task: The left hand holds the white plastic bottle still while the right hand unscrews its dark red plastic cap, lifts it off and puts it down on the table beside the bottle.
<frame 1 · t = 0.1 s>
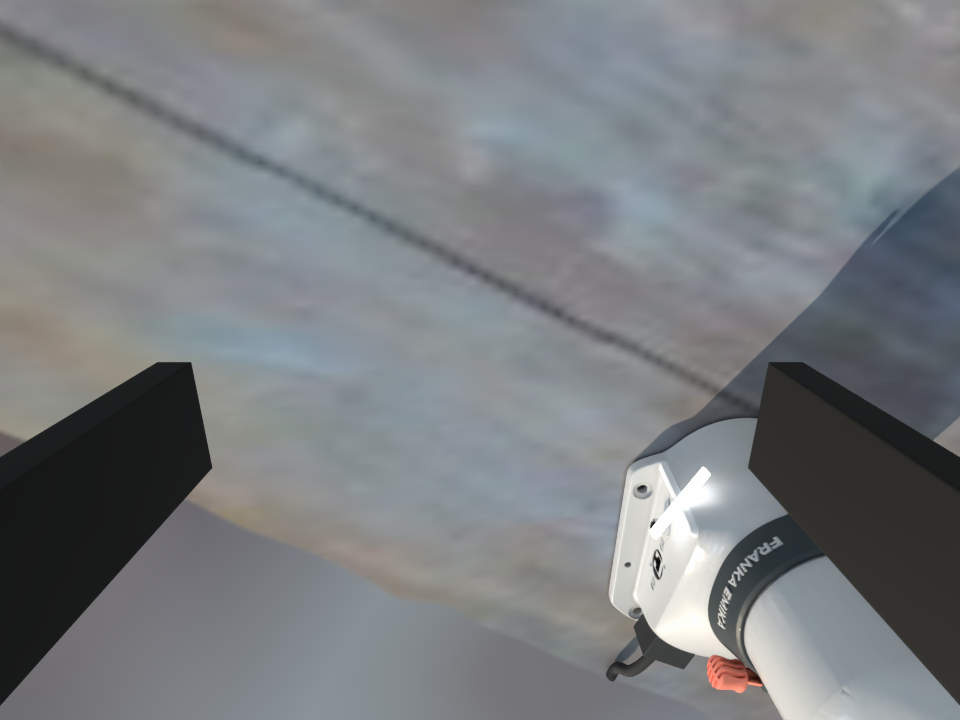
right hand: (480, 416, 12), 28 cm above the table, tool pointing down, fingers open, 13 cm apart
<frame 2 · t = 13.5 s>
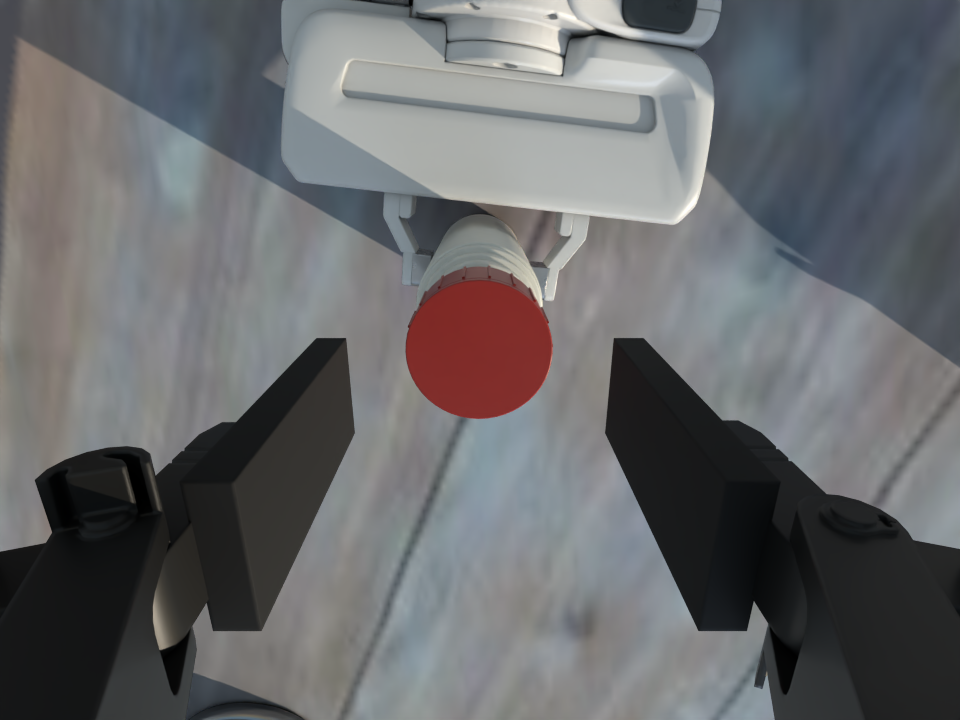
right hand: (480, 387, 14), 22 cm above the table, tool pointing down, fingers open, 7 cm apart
left hand: (478, 291, 29), fingers closed on bottle, 5 cm apart
cap: (479, 349, 17), point 19 cm above the table, screwed on, not yet turned
bottle: (479, 255, 34), on the table, touching left hand
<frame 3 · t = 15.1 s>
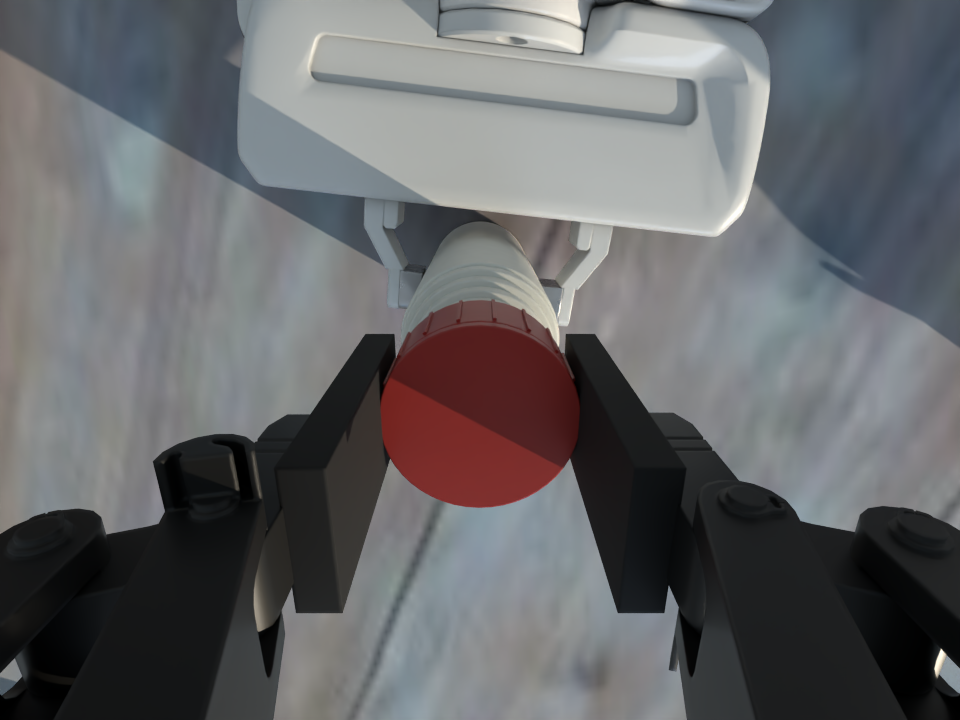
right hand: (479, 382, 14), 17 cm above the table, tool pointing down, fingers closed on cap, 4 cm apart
left hand: (478, 314, 24), fingers closed on bottle, 5 cm apart
cap: (479, 417, 12), point 19 cm above the table, screwed on, not yet turned, touching right hand
bottle: (480, 268, 30), on the table, touching left hand
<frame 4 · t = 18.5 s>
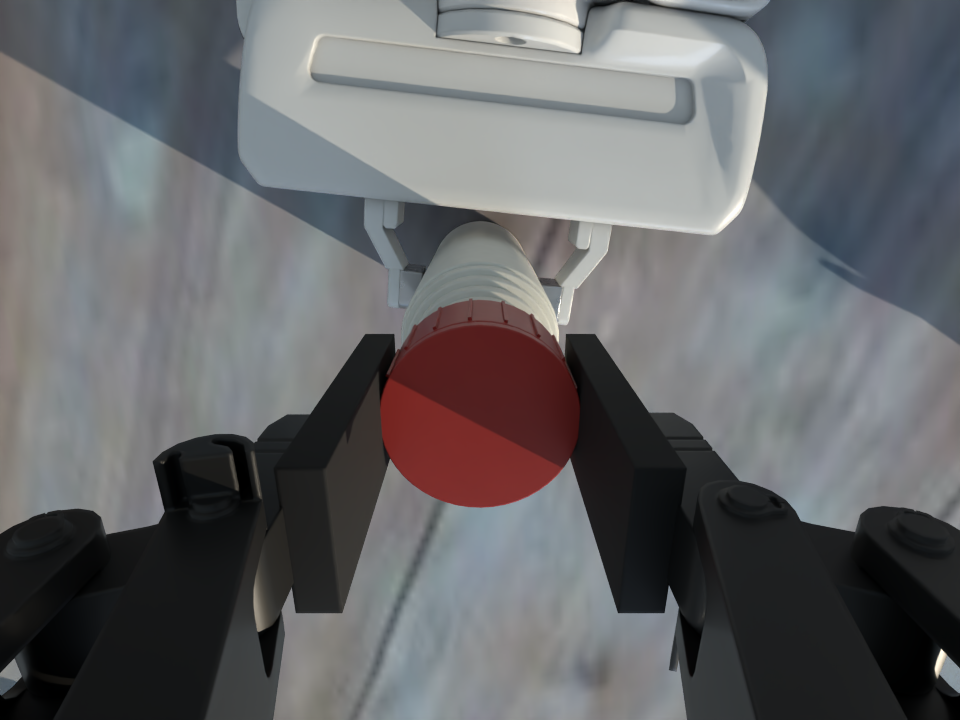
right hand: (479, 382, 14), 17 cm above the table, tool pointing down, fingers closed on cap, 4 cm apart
left hand: (478, 313, 24), fingers closed on bottle, 5 cm apart
cap: (479, 416, 12), point 19 cm above the table, turned 113° so far, risen 0.1 cm, still on its thread, touching right hand
bottle: (480, 268, 30), on the table, touching left hand
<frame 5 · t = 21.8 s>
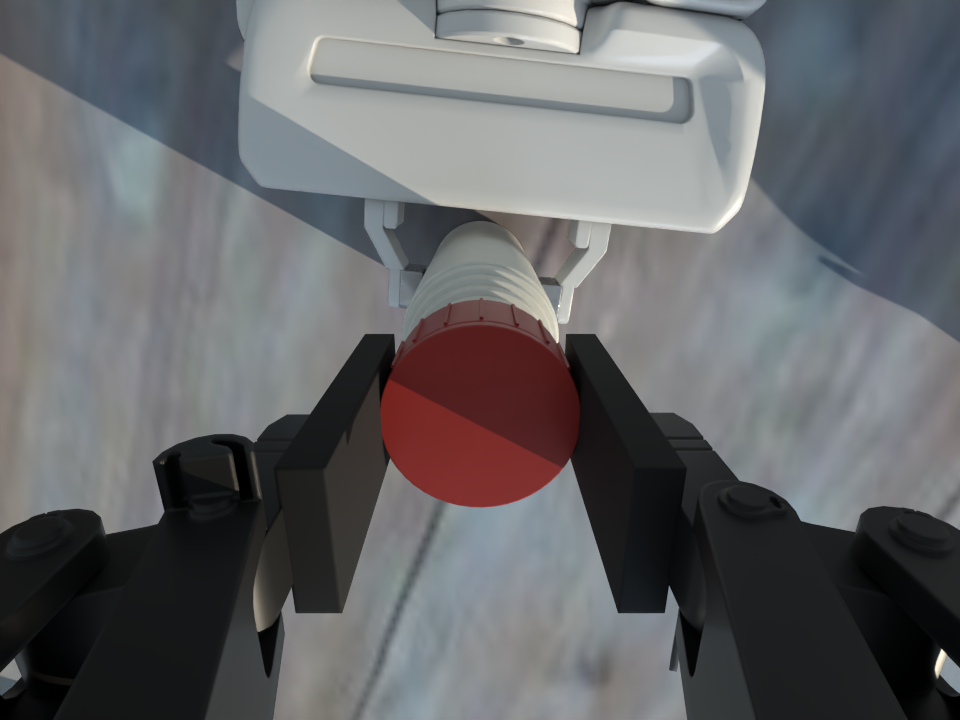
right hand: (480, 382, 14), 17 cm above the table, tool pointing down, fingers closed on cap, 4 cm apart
left hand: (479, 312, 24), fingers closed on bottle, 5 cm apart
cap: (480, 416, 12), point 19 cm above the table, turned 227° so far, risen 0.2 cm, still on its thread, touching right hand
bottle: (480, 268, 30), on the table, touching left hand
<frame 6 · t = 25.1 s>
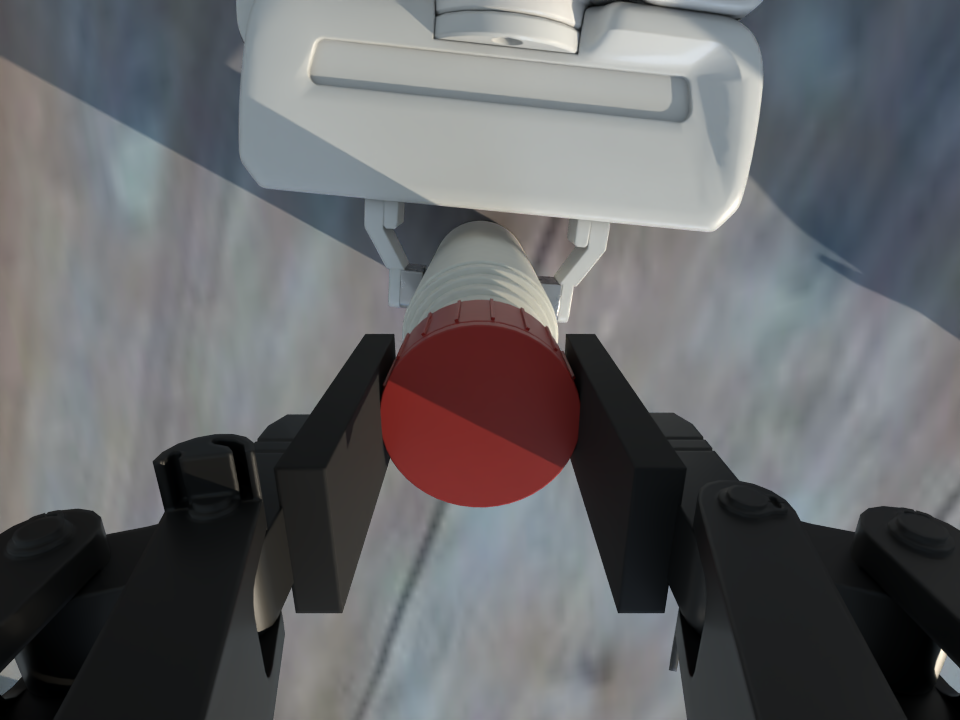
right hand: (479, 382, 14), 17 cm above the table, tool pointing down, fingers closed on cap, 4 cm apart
left hand: (479, 312, 24), fingers closed on bottle, 5 cm apart
cap: (480, 416, 12), point 19 cm above the table, turned 340° so far, risen 0.3 cm, still on its thread, touching right hand
bottle: (480, 267, 30), on the table, touching left hand
when the right hand's fingers open (1 cm above the table, at t = 31.2 s): cap drops 1 cm, point 2 cm above the table.
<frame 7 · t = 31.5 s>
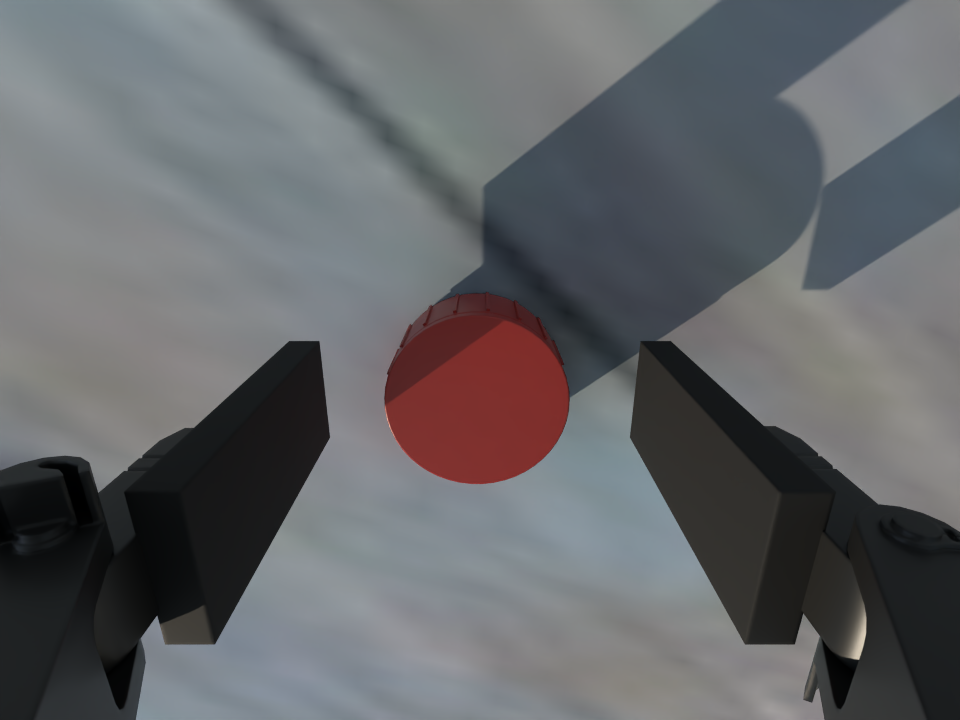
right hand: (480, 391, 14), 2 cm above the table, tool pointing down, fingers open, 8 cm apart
cap: (477, 400, 13), point 2 cm above the table, off its thread
when the left hand's fingers open (7 cm above the table, at t = 32.6 s): bottle stays where it is, on the table.
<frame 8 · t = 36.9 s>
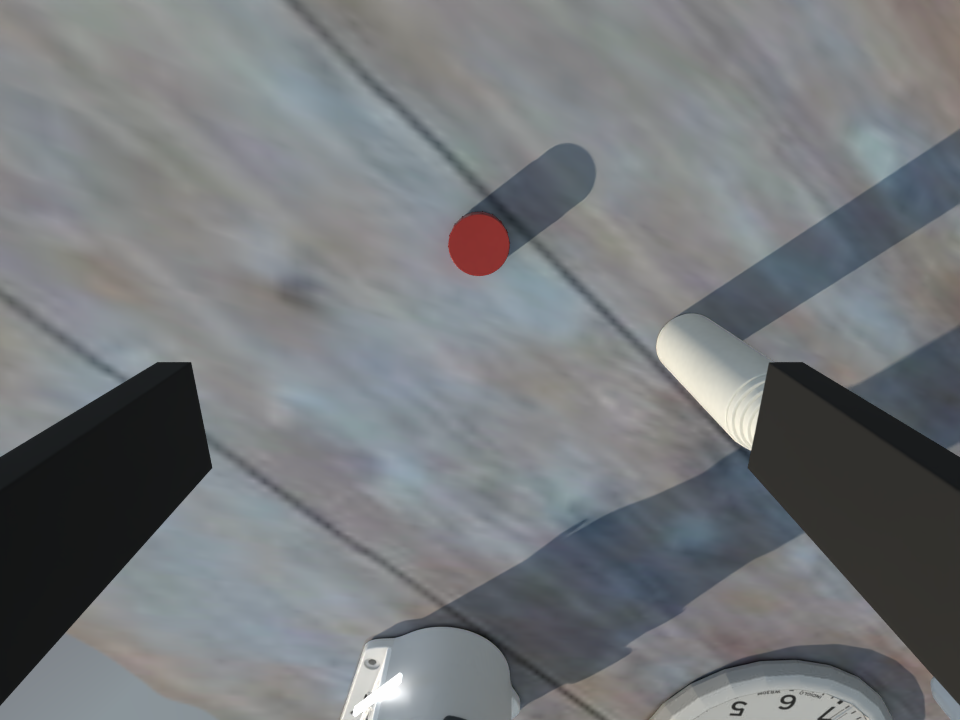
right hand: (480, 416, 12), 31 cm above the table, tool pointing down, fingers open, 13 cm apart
cap: (479, 245, 40), point 2 cm above the table, off its thread
bottle: (687, 343, 45), on the table
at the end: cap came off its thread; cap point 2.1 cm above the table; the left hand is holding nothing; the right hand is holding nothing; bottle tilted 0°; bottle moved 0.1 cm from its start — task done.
